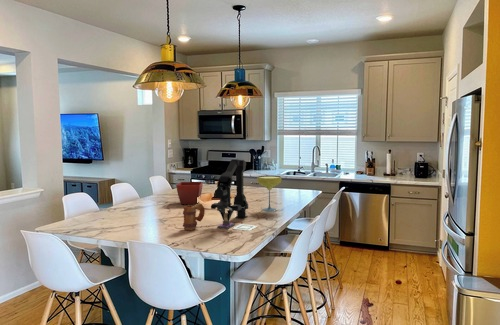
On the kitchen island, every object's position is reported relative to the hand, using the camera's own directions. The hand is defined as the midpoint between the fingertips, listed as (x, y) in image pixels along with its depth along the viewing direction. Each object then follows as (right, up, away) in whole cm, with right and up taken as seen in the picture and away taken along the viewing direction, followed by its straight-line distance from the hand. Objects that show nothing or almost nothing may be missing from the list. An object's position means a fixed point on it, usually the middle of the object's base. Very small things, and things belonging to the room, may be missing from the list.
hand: (226, 220), depth 228 cm
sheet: (+12, -4, -3) cm, 13 cm away
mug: (-20, -5, -4) cm, 20 cm away
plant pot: (-35, +2, +78) cm, 86 cm away
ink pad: (0, -4, 0) cm, 4 cm away
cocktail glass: (+29, 0, +48) cm, 56 cm away
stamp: (0, -3, 0) cm, 2 cm away
